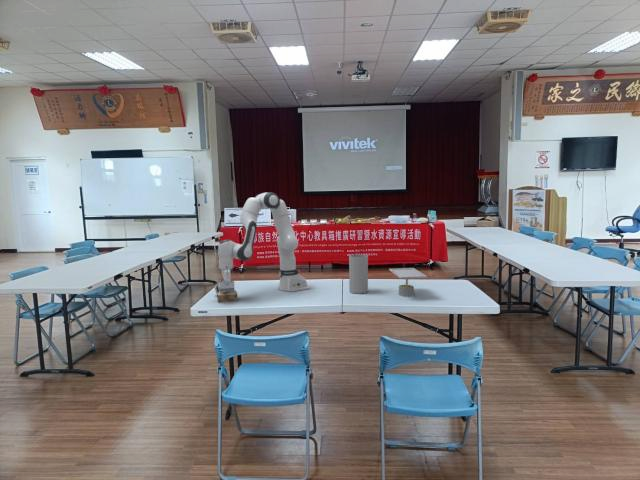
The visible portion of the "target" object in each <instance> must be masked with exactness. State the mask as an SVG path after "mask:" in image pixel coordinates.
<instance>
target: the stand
mask: <svg viewBox="0 0 640 480" xmlns="http://www.w3.org/2000/svg"><path fill="white" fill-rule="evenodd" d="M216 297H217V302H218V303H227V302H238V301H239V300H238V299H239V298H238V292H237V290H236V289H235V291H226V292H217V294H216Z"/></svg>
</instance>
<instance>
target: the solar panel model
mask: <svg viewBox="0 0 640 480" xmlns="http://www.w3.org/2000/svg"><path fill="white" fill-rule="evenodd" d="M388 271H390V272H391V273H392V274H393V275H395V276H396V277H397V278H399V279H400V280H401V279H403V280H404V279H405V284H399V285H398V295H399V296H401V297H405V298H410V297H413V296H414V295H415V292H414V291H415V286H414V285H411V284H409V279H423V278H424V279H426V278H428V276H427V275H426V274H424V273H422V272H421V271H420V270H417V269H416V268H414V267H403V268H402V267H401V268H399V267H398V268H388Z"/></svg>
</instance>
